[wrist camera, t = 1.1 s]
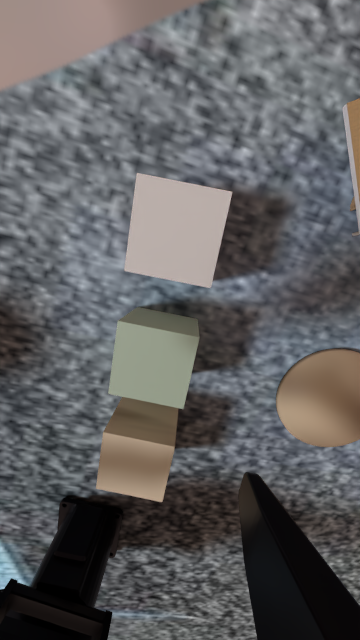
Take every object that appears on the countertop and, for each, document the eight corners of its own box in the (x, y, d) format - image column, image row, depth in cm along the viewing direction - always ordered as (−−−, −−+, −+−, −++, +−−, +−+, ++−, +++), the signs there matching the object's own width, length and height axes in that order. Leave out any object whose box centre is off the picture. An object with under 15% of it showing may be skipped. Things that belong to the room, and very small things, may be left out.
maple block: (169, 448, 21) (162, 502, 16) (118, 437, 21) (96, 488, 16) (179, 403, 20) (174, 446, 15) (124, 392, 20) (103, 432, 15)
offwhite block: (205, 282, 17) (210, 288, 12) (143, 269, 17) (124, 270, 13) (220, 214, 16) (232, 191, 11) (153, 201, 16) (137, 173, 11)
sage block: (185, 373, 19) (183, 409, 14) (129, 362, 19) (108, 393, 14) (197, 318, 18) (199, 337, 13) (137, 306, 18) (117, 321, 13)
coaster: (361, 451, 20) (365, 456, 19) (263, 431, 20) (265, 435, 19) (404, 360, 18) (410, 363, 17) (294, 338, 18) (297, 340, 17)
